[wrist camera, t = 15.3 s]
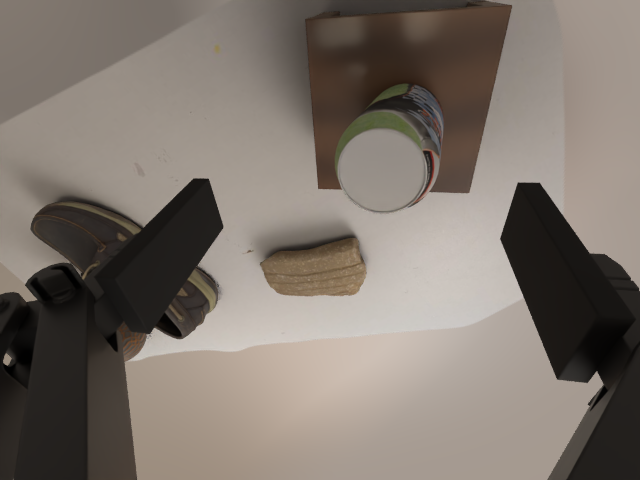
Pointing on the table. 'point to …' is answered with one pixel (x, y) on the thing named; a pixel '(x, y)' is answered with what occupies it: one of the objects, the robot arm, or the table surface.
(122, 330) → the vase
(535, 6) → the table surface
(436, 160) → the beverage can
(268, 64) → the table surface
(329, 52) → the walnut shelf
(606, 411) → the robot arm
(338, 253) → the decorative stone
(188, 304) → the boat shoe
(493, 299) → the table surface
